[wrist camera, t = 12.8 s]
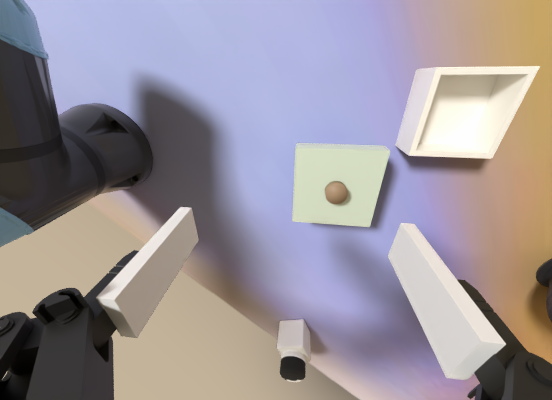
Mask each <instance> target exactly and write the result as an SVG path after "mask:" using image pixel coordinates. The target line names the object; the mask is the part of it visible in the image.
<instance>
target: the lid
mask: <svg viewBox="0 0 552 400" xmlns="http://www.w3.org/2000/svg"><path fill="white" fill-rule="evenodd" d="M389 154H390V150H389V149H387V148H386V147H385V146H378V145H345V144H313V143H296V149H295V172H294V196H293V219H292V221H294V222H308V223H321V224H334V225H348V226H361V227H370V225H371V221H372V217H373V213H374V210H375V206H376V202H377V199H378V195H379V191H380V187H381V184H382V180H383V176H384V173H385V169H386V165H387V161H388V158H389Z"/></svg>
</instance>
